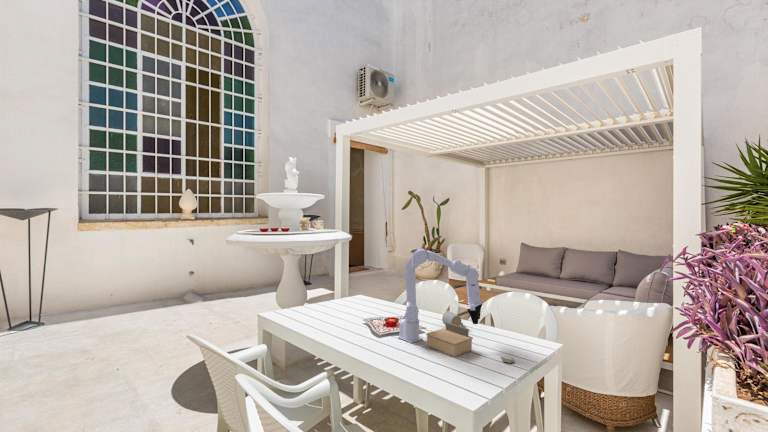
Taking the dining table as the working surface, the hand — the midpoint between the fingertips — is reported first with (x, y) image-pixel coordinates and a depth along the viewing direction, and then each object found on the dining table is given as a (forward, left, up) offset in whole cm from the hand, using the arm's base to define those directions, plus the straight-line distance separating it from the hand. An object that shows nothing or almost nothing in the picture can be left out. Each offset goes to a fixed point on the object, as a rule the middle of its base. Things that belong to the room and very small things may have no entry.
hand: (476, 321), depth 170 cm
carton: (-4, -16, -10) cm, 19 cm away
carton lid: (-4, -16, -5) cm, 17 cm away
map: (+16, -2, -11) cm, 20 cm away
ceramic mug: (-23, +11, -10) cm, 27 cm away
